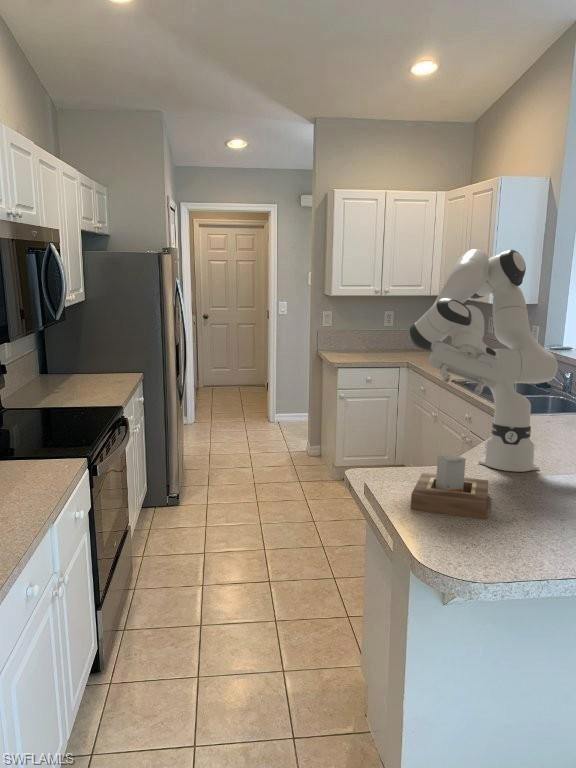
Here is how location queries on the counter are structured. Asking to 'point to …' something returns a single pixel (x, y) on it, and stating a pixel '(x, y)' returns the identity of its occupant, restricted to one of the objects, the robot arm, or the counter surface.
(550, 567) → the counter surface
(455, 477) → the skincare box
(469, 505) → the walnut socket board
